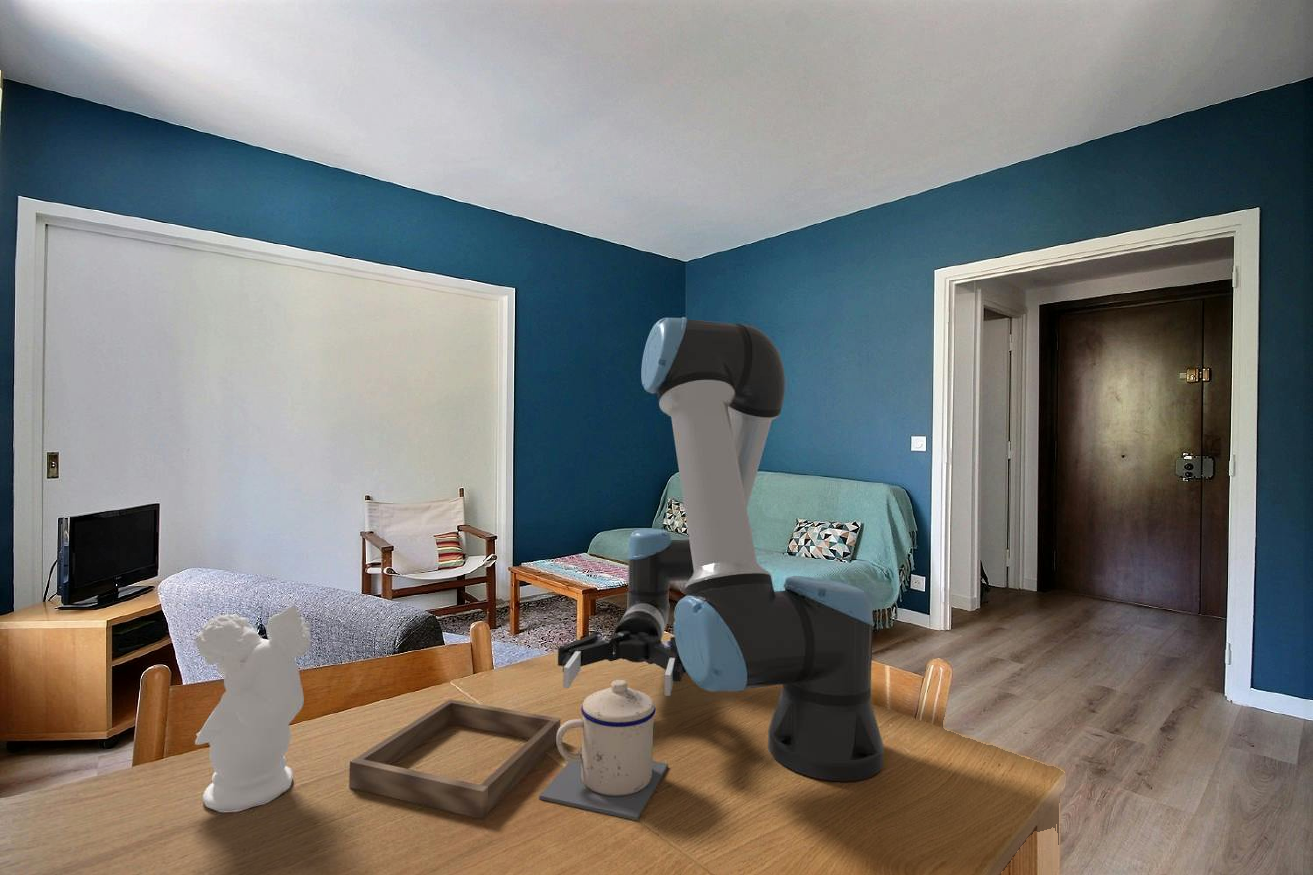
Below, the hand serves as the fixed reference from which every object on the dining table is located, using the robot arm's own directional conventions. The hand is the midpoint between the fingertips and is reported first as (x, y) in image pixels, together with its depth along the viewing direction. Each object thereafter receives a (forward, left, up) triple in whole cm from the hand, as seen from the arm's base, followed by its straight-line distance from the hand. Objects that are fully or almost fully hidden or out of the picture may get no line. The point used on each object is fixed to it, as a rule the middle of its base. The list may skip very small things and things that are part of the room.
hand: (616, 681), depth 81 cm
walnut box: (+18, +8, -10) cm, 22 cm away
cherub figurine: (+37, +20, -10) cm, 43 cm away
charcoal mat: (-1, +6, -10) cm, 12 cm away
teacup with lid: (-1, +6, -10) cm, 11 cm away
